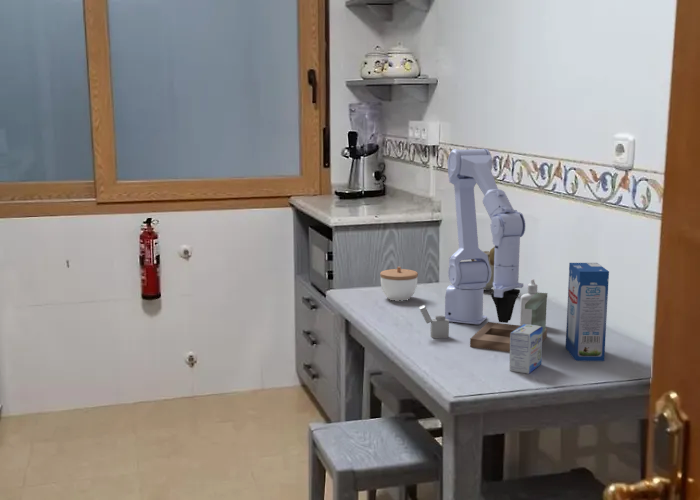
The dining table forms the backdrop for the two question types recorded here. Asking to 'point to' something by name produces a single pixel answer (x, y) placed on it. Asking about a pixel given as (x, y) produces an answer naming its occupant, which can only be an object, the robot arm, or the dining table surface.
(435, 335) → the lighter
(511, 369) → the medicine box
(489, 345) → the socket board
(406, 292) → the lidded jar
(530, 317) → the eye dropper bottle
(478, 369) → the dining table surface
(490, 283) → the ceramic sculpture
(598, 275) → the milk carton
